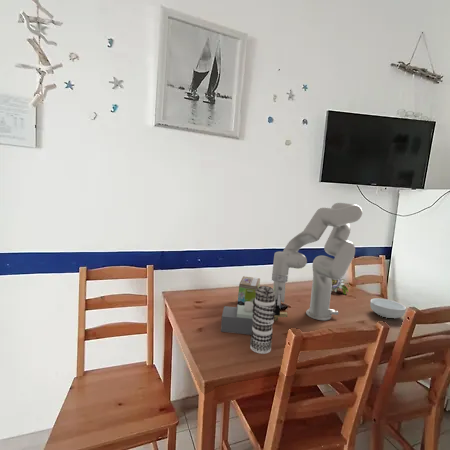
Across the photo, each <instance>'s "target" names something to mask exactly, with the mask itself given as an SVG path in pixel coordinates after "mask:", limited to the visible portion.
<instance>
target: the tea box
mask: <svg viewBox="0 0 450 450" xmlns="http://www.w3.org/2000/svg"><path fill="white" fill-rule="evenodd" d="M238 285H239V286H238V295H237V305H236V307H238V305H242V306H245V302H246V301H250V302H253V300H254V299H255V297H256V292H255V290H256V289H258V288H259V287H260V286H261V278H258V277H252V276H245V275H244V276H242V278H241V280H240V282H239V284H238Z"/></svg>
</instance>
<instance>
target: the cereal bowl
mask: <svg viewBox="0 0 450 450" xmlns="http://www.w3.org/2000/svg"><path fill="white" fill-rule="evenodd" d="M369 307H370V309H371V310H372V311H373V312H374V313H375V314H377V315H378V316H379V315H380V317H381V316H382V317H381V318H383V317H386V318H385V319H387V318H394V319H399V318H402V317H403V316H404V315H405V313H406V310H407V307H406V305H404V304H402V303H400V302H398V301H395V300H391V299H388V298H382V297H381V298H378V297H377V298H375V297H374V298H371V299H370V306H369Z"/></svg>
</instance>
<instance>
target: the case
mask: <svg viewBox="0 0 450 450" xmlns="http://www.w3.org/2000/svg"><path fill="white" fill-rule="evenodd" d="M237 310H238V307H237V306H227V305H226V306H223V310H222V314H221V321H220V332H222V333H232V334H239V335H240V334H241V335H250V336H251V331H252V326H253V319H250V318H240V317H237Z"/></svg>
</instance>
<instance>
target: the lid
mask: <svg viewBox="0 0 450 450" xmlns="http://www.w3.org/2000/svg"><path fill="white" fill-rule="evenodd" d="M253 305H254V304H253V302H250V301H246V302H245V306H242V305H238V310H237V317H240V318H250V319H252V318H253V316H252V315H253ZM254 312H255V311H254Z"/></svg>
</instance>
